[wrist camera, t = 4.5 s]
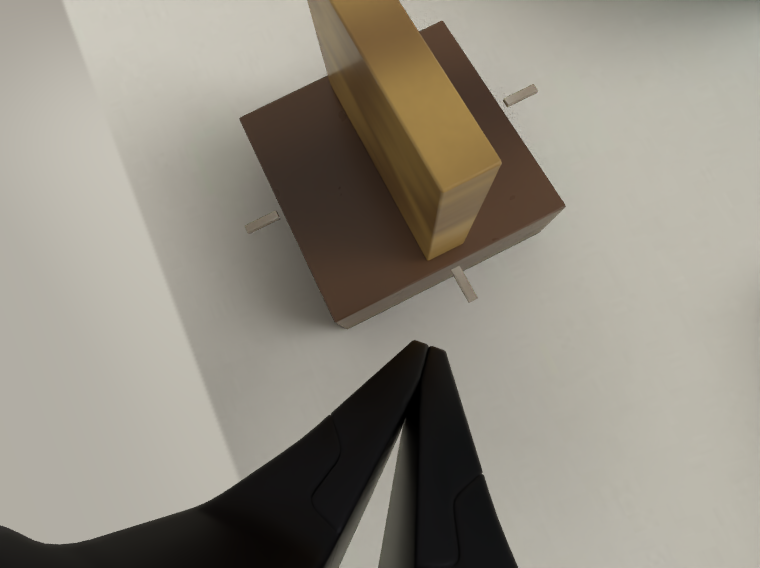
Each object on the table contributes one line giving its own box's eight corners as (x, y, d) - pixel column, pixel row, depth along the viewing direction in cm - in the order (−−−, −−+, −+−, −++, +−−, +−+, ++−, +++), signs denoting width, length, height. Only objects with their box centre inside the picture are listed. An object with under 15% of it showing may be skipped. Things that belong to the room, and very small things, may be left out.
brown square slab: (589, 246, 17) (629, 220, 14) (329, 378, 17) (313, 382, 14) (449, 35, 20) (457, -25, 17) (224, 143, 20) (190, 102, 17)
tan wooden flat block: (464, 243, 14) (507, 156, 8) (427, 261, 14) (443, 187, 8) (362, 67, 16) (336, -107, 10) (329, 83, 16) (284, -83, 10)
